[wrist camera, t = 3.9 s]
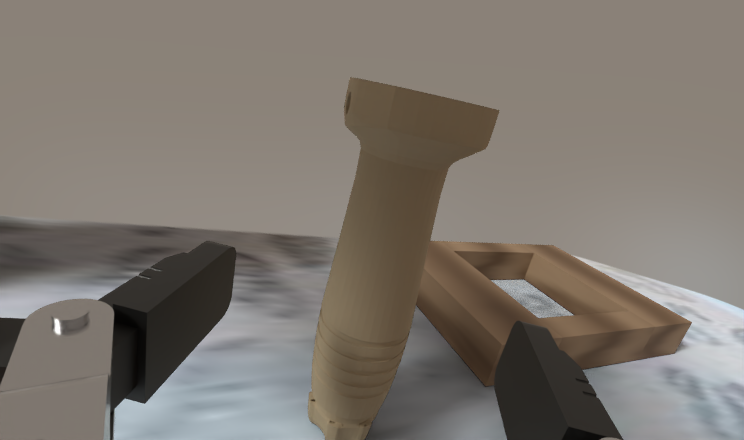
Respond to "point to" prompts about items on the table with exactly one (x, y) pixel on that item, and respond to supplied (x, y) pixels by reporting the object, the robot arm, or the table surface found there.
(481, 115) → the handle
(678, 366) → the table surface
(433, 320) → the wooden rectangular frame
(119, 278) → the table surface
